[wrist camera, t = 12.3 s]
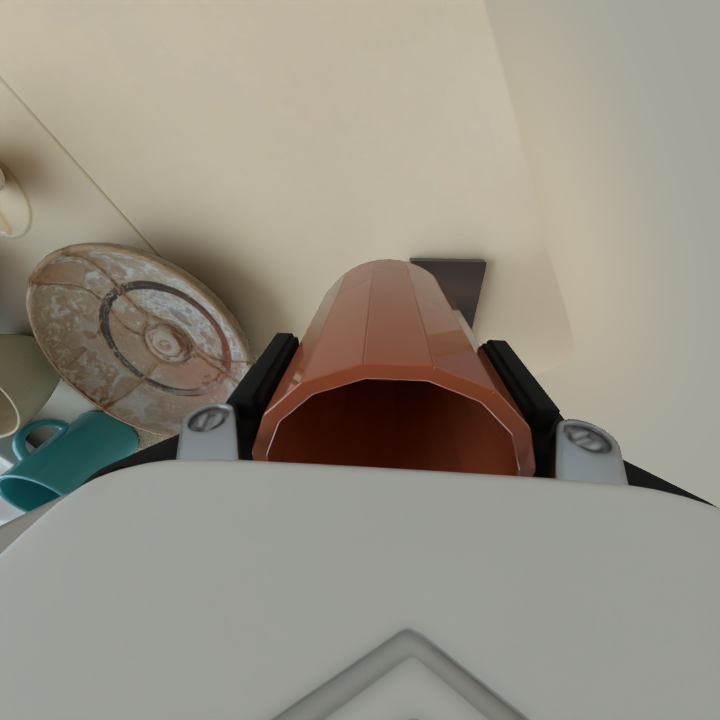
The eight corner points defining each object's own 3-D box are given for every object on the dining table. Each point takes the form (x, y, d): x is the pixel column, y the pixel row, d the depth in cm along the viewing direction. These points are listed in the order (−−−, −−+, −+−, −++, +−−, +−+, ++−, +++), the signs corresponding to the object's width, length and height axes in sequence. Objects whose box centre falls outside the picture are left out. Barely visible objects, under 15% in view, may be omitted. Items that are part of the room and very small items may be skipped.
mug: (315, 257, 13) (223, 356, 6) (465, 260, 13) (584, 371, 5) (327, 428, 19) (289, 595, 11) (433, 433, 19) (469, 610, 11)
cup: (90, 386, 40) (-3, 450, 30) (153, 444, 45) (91, 514, 36) (48, 404, 42) (-50, 468, 33) (113, 457, 48) (45, 526, 38)
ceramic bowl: (185, 195, 27) (148, 197, 23) (301, 390, 38) (290, 416, 33) (21, 281, 32) (-33, 295, 28) (163, 429, 43) (139, 456, 39)
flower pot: (107, 376, 39) (42, 421, 31) (51, 402, 42) (-19, 448, 35) (22, 296, 33) (-79, 327, 26) (-34, 333, 37) (-138, 370, 29)
